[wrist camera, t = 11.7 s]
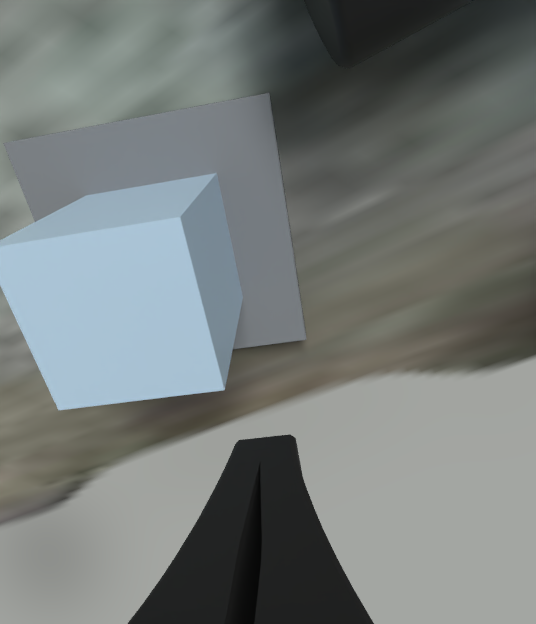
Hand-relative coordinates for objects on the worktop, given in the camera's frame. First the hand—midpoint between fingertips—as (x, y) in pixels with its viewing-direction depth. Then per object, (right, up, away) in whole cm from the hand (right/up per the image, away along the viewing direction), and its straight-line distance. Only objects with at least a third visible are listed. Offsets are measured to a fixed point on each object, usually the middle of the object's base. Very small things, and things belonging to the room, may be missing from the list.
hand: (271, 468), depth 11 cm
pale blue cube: (-4, +6, +8) cm, 11 cm away
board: (-4, +7, +8) cm, 12 cm away
